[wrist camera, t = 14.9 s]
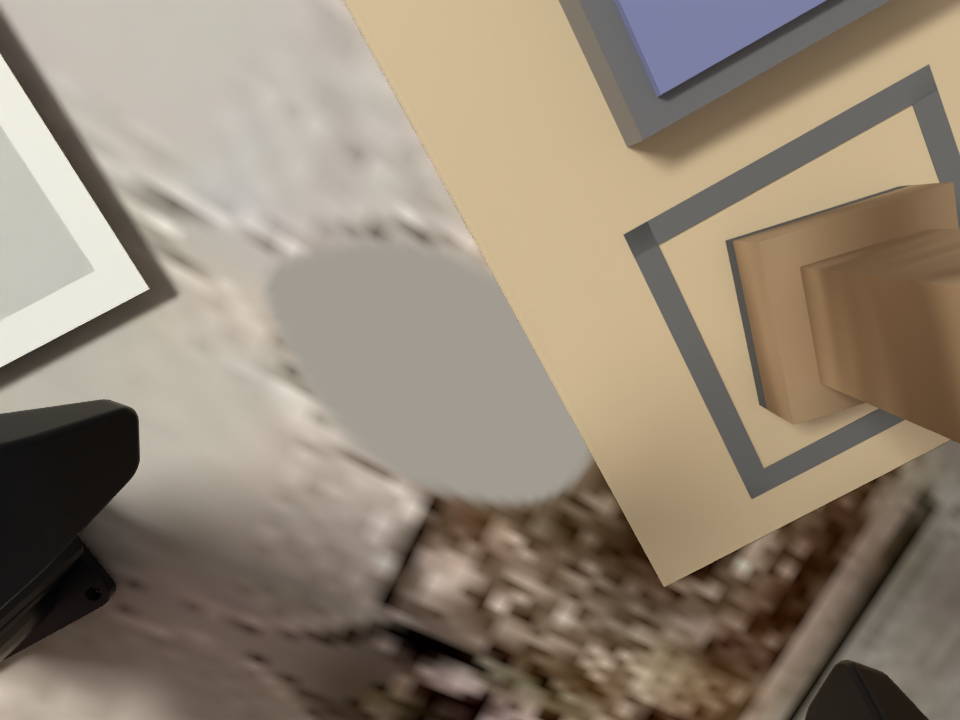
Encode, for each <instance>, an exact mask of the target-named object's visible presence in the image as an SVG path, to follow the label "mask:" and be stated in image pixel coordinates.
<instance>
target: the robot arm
mask: <svg viewBox="0 0 960 720" xmlns="http://www.w3.org/2000/svg"><path fill="white" fill-rule="evenodd" d="M139 461H140V447H139V419H138V415H137V413H136V411H135V410H134V409H132V408H131V407H128V406H125V405H123V404H120V403H117V402H114V401H111V400H105V399H103V400H95V401H88V402H81V403H74V404H67V405H60V406H53V407H46V408H39V409H32V410H25V411H18V412H11V413H3V414H0V662H1V661H3V660H4V659H6V658H8V657H10V656H12V655H14V654H15V653H17V652H19V651H21V650H23V649H25V648H26V647H28V646H30V645H32V644H34V643H35V642H37V641H39V640H41V639H43V638H45V637H46V636H48V635H50V634H52V633H54V632H56V631H57V630H59V629H61V628H63V627H65V626H67V625H68V624H70V623H72V622H74V621H76V620H77V619H79V618H81V617H83V616H85V615H87V614H88V613H90V612H92V611H94V610H96V609H98V608H99V607H101V606H103V605H104V604H105V603H106V602H108V600H109V599H110V598H111V597H112V596H113V595H114V593H115V591H116V585H115V583H114V581H113V579H112V578H111V577H110V575H109V574H108V573H107V572H106V570H105V569H104V568H103V567H102V565H101V564H100V563H99V562H98V560H97V559H96V558H95V557H94V555H93V554H92V553H91V552H90V550H89V549H88V548H87V547H86V545H85V544H84V543H83V542H82V540H81V539H80V538H79V537H78V534H79V533H80V532H81V531H82V530H83V529H84V528H85V527H86V526H87V525H88V524H89V523H90V522H91V521H92V520H93V519H94V518H95V516H96V515H97V514H98V513H99V512H100V511H101V510H102V509H103V508H104V507H105V506H106V505H107V504H108V503H109V502H110V501H111V500H112V498H113V497H114V496H115V495H116V494H117V493H118V492H119V491H120V490H121V489H122V488H123V487H124V486H125V485H126V484H127V483H128V482H129V480H130V479H131V478H132V477H133V475H134V474H135V472H136V470H137V468H138V465H139ZM92 587H96V588H98V589H99V590H100V591H101V594H100V593H97V592H95V591H94V590H93V588H92ZM805 720H929V719H928V718H927V717H926V716H925V715H924V714H923V713H922V712H921V711H920V710H919V709H918V708H917V707H916V705H915V704H914V703H913V702H912V701H911V700H910V699H909V698H908V697H907V696H906V695H905V694H904V693H903V692H902V690H901V689H900V688H899V687H898V686H897V685H896V684H895V683H894V682H893V681H892V680H891V679H890V678H889V677H888V676H887V675H886V674H884V673H883V672H881V671H879V670H876V669H873V668H870V667H867V666H865V665H862V664H859V663H856V662H853V661H850V660H843V661H840V662H839V663H837V664H836V665H835V666H834V668H833V669H832V671H831V672H830V674H829V675H828V677H827V679H826V680H825V682H824V683H823V685H822V687H821V688H820V690H819V691H818V693H817V695H816V696H815V698H814V699H813V701H812V702H811V704H810V706H809V708H808V711H807V713H806V718H805Z"/></svg>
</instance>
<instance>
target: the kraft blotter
mask: <svg viewBox="0 0 960 720" xmlns="http://www.w3.org/2000/svg"><path fill="white" fill-rule="evenodd" d="M344 2H345V3H346V5H347V7H348V9H349V11H350V13H351V14H352V16H353V18H354V20H355V22H356V24H357V25H358V27H359V29H360V31H361V33H362V35H363V36H364V38H365V40H366V42H367V44H368V46H369V47H370V49H371V51H372V53H373V55H374V57H375V58H376V60H377V62H378V64H379V66H380V68H381V69H382V71H383V73H384V75H385V77H386V79H387V80H388V82H389V84H390V86H391V88H392V90H393V91H394V93H395V95H396V97H397V99H398V101H399V102H400V104H401V106H402V108H403V110H404V112H405V113H406V115H407V117H408V119H409V121H410V123H411V124H412V126H413V128H414V130H415V132H416V134H417V135H418V137H419V139H420V141H421V143H422V145H423V146H424V148H425V150H426V152H427V154H428V156H429V157H430V159H431V161H432V163H433V165H434V167H435V168H436V170H437V172H438V174H439V176H440V178H441V179H442V181H443V183H444V185H445V187H446V189H447V190H448V192H449V194H450V196H451V198H452V200H453V201H454V203H455V205H456V207H457V209H458V211H459V212H460V214H461V216H462V218H463V220H464V222H465V223H466V225H467V227H468V229H469V231H470V233H471V234H472V236H473V238H474V240H475V242H476V244H477V245H478V247H479V249H480V251H481V253H482V255H483V256H484V258H485V260H486V262H487V264H488V266H489V267H490V269H491V271H492V273H493V275H494V277H495V278H496V280H497V282H498V284H499V286H500V288H501V289H502V291H503V293H504V295H505V297H506V299H507V300H508V302H509V304H510V306H511V308H512V310H513V311H514V313H515V315H516V317H517V319H518V321H519V322H520V324H521V326H522V328H523V330H524V332H525V333H526V335H527V337H528V339H529V341H530V343H531V344H532V346H533V348H534V350H535V352H536V353H537V355H538V357H539V359H540V361H541V363H542V364H543V366H544V368H545V370H546V372H547V374H548V375H549V377H550V379H551V381H552V383H553V385H554V387H555V388H556V390H557V392H558V394H559V396H560V398H561V399H562V401H563V403H564V405H565V407H566V409H567V410H568V412H569V414H570V416H571V418H572V420H573V421H574V423H575V425H576V427H577V429H578V431H579V432H580V434H581V436H582V438H583V440H584V442H585V443H586V445H587V447H588V449H589V451H590V453H591V454H592V456H593V458H594V460H595V462H596V464H597V465H598V467H599V469H600V471H601V473H602V475H603V476H604V478H605V480H606V482H607V484H608V486H609V487H610V489H611V491H612V493H613V495H614V497H615V498H616V500H617V502H618V504H619V506H620V508H621V509H622V511H623V513H624V515H625V517H626V519H627V520H628V522H629V524H630V526H631V528H632V530H633V531H634V533H635V535H636V537H637V539H638V541H639V542H640V544H641V546H642V548H643V550H644V552H645V553H646V555H647V557H648V559H649V561H650V563H651V564H652V566H653V568H654V570H655V572H656V574H657V575H658V577H659V579H660V581H661V583H662V585H663V586H664V587H665V586H667V585H669V584H671V583H673V582H675V581H677V580H679V579H681V578H683V577H685V576H687V575H689V574H691V573H693V572H695V571H697V570H699V569H701V568H702V567H704V566H706V565H708V564H710V563H712V562H714V561H716V560H718V559H720V558H722V557H724V556H726V555H728V554H730V553H732V552H734V551H736V550H738V549H739V548H741V547H743V546H745V545H747V544H749V543H751V542H753V541H755V540H757V539H759V538H761V537H763V536H765V535H767V534H769V533H771V532H773V531H775V530H776V529H778V528H780V527H782V526H784V525H786V524H788V523H790V522H792V521H794V520H796V519H798V518H800V517H802V516H804V515H806V514H808V513H810V512H812V511H813V510H815V509H817V508H819V507H821V506H823V505H825V504H827V503H829V502H831V501H833V500H835V499H837V498H839V497H841V496H843V495H845V494H847V493H849V492H850V491H852V490H854V489H856V488H858V487H860V486H862V485H864V484H866V483H868V482H870V481H872V480H874V479H876V478H878V477H880V476H882V475H884V474H886V473H887V472H889V471H891V470H893V469H895V468H897V467H899V466H901V465H903V464H905V463H907V462H909V461H911V460H913V459H915V458H917V457H919V456H921V455H923V454H924V453H926V452H928V451H930V450H932V449H934V448H936V447H938V446H940V445H942V444H944V443H946V442H948V441H950V440H951V439H949V438H947V437H944V436H942V435H940V434H937V433H935V432H933V431H930V430H928V429H926V428H923V427H921V426H919V425H916V424H914V423H912V422H909V421H907V420H905V419H902V418H900V417H898V416H895V415H893V414H891V413H888V412H886V411H884V410H881V409H879V408H877V407H874V406H872V405H870V404H867V403H864V404H860V405H857V406H854V407H851V408H847V409H844V410H841V411H838V412H834V413H831V414H828V415H824V416H821V417H818V418H815V419H811V420H808V421H805V422H802V423H798V424H795V425H793V424H791V423H789V422H788V421H786V420H784V419H782V418H781V417H779V416H777V415H776V414H774V413H772V412H771V411H769V410H767V409H765V408H764V407H762V406H760V405H759V401H758V396H757V391H756V386H755V381H754V377H753V372H752V367H751V362H750V357H749V353H748V348H747V343H746V338H745V333H744V328H743V324H742V319H741V314H740V309H739V304H738V299H737V295H736V290H735V285H734V280H733V275H732V270H731V266H730V261H729V256H728V251H727V246H726V240H729V239H732V238H735V237H738V236H742V235H745V234H748V233H751V232H754V231H758V230H761V229H764V228H767V227H770V226H774V225H777V224H780V223H783V222H786V221H790V220H793V219H796V218H799V217H802V216H806V215H809V214H812V213H815V212H818V211H822V210H825V209H828V208H831V207H834V206H838V205H841V204H844V203H847V202H850V201H854V200H857V199H860V198H863V197H866V196H870V195H873V194H876V193H879V192H882V191H886V190H889V189H892V188H895V187H898V186H908V185H920V184H932V183H944V182H953V184H954V193H955V201H956V210H957V218H958V227H959V229H960V0H890V1H888V2H886V3H884V4H883V5H881V6H879V7H877V8H876V9H874V10H872V11H870V12H869V13H867V14H865V15H863V16H862V17H860V18H858V19H856V20H854V21H853V22H851V23H849V24H847V25H846V26H844V27H842V28H840V29H839V30H837V31H835V32H833V33H832V34H830V35H828V36H826V37H825V38H823V39H821V40H819V41H817V42H816V43H814V44H812V45H810V46H809V47H807V48H805V49H803V50H802V51H800V52H798V53H796V54H795V55H793V56H791V57H789V58H788V59H786V60H784V61H782V62H780V63H779V64H777V65H775V66H773V67H772V68H770V69H768V70H766V71H765V72H763V73H761V74H759V75H758V76H756V77H754V78H752V79H751V80H749V81H747V82H745V83H743V84H742V85H740V86H738V87H736V88H735V89H733V90H731V91H729V92H728V93H726V94H724V95H722V96H721V97H719V98H717V99H715V100H714V101H712V102H710V103H708V104H706V105H705V106H703V107H701V108H699V109H698V110H696V111H694V112H692V113H691V114H689V115H687V116H685V117H684V118H682V119H680V120H678V121H677V122H675V123H673V124H671V125H669V126H668V127H666V128H664V129H662V130H661V131H659V132H657V133H655V134H654V135H652V136H650V137H648V138H647V139H645V140H643V141H641V142H638V143H636V144H634V145H631V146H629V147H627V146H626V144H625V142H624V139H623V137H622V135H621V133H620V131H619V129H618V127H617V124H616V122H615V120H614V118H613V116H612V114H611V112H610V109H609V107H608V105H607V103H606V101H605V99H604V97H603V94H602V92H601V90H600V88H599V86H598V84H597V82H596V79H595V77H594V75H593V73H592V71H591V69H590V67H589V64H588V62H587V60H586V58H585V56H584V54H583V52H582V49H581V47H580V45H579V43H578V41H577V39H576V37H575V34H574V32H573V30H572V28H571V26H570V24H569V22H568V19H567V17H566V15H565V13H564V11H563V9H562V7H561V4H560V2H559V0H344Z"/></svg>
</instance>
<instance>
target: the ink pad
mask: <svg viewBox="0 0 960 720" xmlns="http://www.w3.org/2000/svg"><path fill="white" fill-rule="evenodd" d="M888 1H890V0H559V2H560V4H561V7H562V9H563V11H564V13H565V15H566V17H567V19H568V22H569V24H570V26H571V28H572V30H573V32H574V34H575V37H576V39H577V41H578V43H579V45H580V47H581V49H582V52H583V54H584V56H585V58H586V60H587V62H588V64H589V67H590V69H591V71H592V73H593V75H594V77H595V79H596V82H597V84H598V86H599V88H600V90H601V92H602V94H603V97H604V99H605V101H606V103H607V105H608V107H609V109H610V112H611V114H612V116H613V118H614V120H615V122H616V124H617V127H618V129H619V131H620V133H621V135H622V137H623V139H624V142H625V144H626V146H627V147H629V146H631V145H634V144H636V143H638V142H641V141H643V140H645V139H647V138H648V137H650V136H652V135H654V134H655V133H657V132H659V131H661V130H662V129H664V128H666V127H668V126H669V125H671V124H673V123H675V122H677V121H678V120H680V119H682V118H684V117H685V116H687V115H689V114H691V113H692V112H694V111H696V110H698V109H699V108H701V107H703V106H705V105H706V104H708V103H710V102H712V101H714V100H715V99H717V98H719V97H721V96H722V95H724V94H726V93H728V92H729V91H731V90H733V89H735V88H736V87H738V86H740V85H742V84H743V83H745V82H747V81H749V80H751V79H752V78H754V77H756V76H758V75H759V74H761V73H763V72H765V71H766V70H768V69H770V68H772V67H773V66H775V65H777V64H779V63H780V62H782V61H784V60H786V59H788V58H789V57H791V56H793V55H795V54H796V53H798V52H800V51H802V50H803V49H805V48H807V47H809V46H810V45H812V44H814V43H816V42H817V41H819V40H821V39H823V38H825V37H826V36H828V35H830V34H832V33H833V32H835V31H837V30H839V29H840V28H842V27H844V26H846V25H847V24H849V23H851V22H853V21H854V20H856V19H858V18H860V17H862V16H863V15H865V14H867V13H869V12H870V11H872V10H874V9H876V8H877V7H879V6H881V5H883V4H884V3H886V2H888Z"/></svg>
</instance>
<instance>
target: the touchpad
mask: <svg viewBox="0 0 960 720" xmlns="http://www.w3.org/2000/svg"><path fill="white" fill-rule="evenodd" d="M149 289H150V288H149V287H148V285H147V284H146V282H145V281H144V279H143V277H142V276H141V274H140V273H139V271H138V270H137V268H136V266H135V265H134V263H133V262H132V260H131V259H130V257H129V255H128V254H127V252H126V251H125V249H124V247H123V246H122V244H121V243H120V241H119V240H118V238H117V236H116V235H115V233H114V232H113V230H112V229H111V227H110V225H109V224H108V222H107V221H106V219H105V218H104V216H103V214H102V213H101V211H100V210H99V208H98V207H97V205H96V203H95V202H94V200H93V199H92V197H91V195H90V194H89V192H88V191H87V189H86V188H85V186H84V184H83V183H82V181H81V180H80V178H79V177H78V175H77V173H76V172H75V170H74V169H73V167H72V166H71V164H70V162H69V161H68V159H67V158H66V156H65V155H64V153H63V151H62V150H61V148H60V147H59V145H58V143H57V142H56V140H55V139H54V137H53V136H52V134H51V132H50V131H49V129H48V128H47V126H46V125H45V123H44V121H43V120H42V118H41V117H40V115H39V114H38V112H37V110H36V109H35V107H34V106H33V104H32V103H31V101H30V99H29V98H28V96H27V95H26V93H25V91H24V90H23V88H22V87H21V85H20V84H19V82H18V80H17V79H16V77H15V76H14V74H13V73H12V71H11V69H10V68H9V66H8V65H7V63H6V62H5V60H4V58H3V57H2V55H1V54H0V367H2V366H4V365H6V364H8V363H10V362H12V361H14V360H15V359H17V358H19V357H21V356H23V355H25V354H27V353H29V352H31V351H33V350H35V349H36V348H38V347H40V346H42V345H44V344H46V343H48V342H50V341H52V340H54V339H55V338H57V337H59V336H61V335H63V334H65V333H67V332H69V331H71V330H73V329H74V328H76V327H78V326H80V325H82V324H84V323H86V322H88V321H90V320H92V319H94V318H95V317H97V316H99V315H101V314H103V313H105V312H107V311H109V310H111V309H113V308H114V307H116V306H118V305H120V304H122V303H124V302H126V301H128V300H130V299H132V298H133V297H135V296H137V295H139V294H141V293H143V292H145V291H147V290H149Z"/></svg>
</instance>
